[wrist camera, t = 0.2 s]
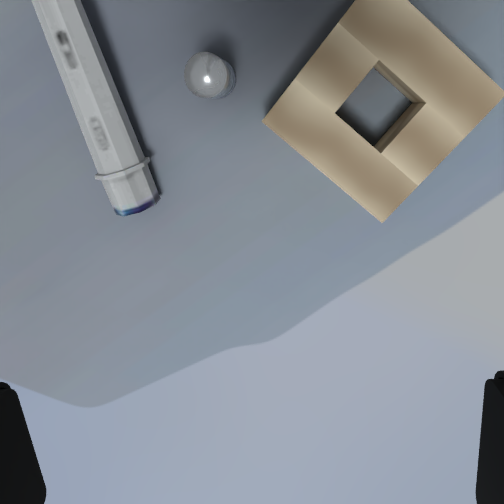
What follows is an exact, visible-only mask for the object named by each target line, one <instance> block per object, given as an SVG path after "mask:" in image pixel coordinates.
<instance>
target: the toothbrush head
mask: <svg viewBox="0 0 504 504" xmlns="http://www.w3.org/2000/svg"><path fill="white" fill-rule="evenodd" d="M32 3H33V5H34V8H35V11H36V13H37V16H38V18H39V21H40V24H41V26H42V29H43V31H44V34H45V37H46V39H47V42H48V44H49V47H50V50H51V52H52V55H53V57H54V60H55V62H56V65H57V68H58V70H59V73H60V75H61V78H62V81H63V83H64V86H65V88H66V91H67V94H68V96H69V99H70V101H71V104H72V107H73V109H74V112H75V114H76V117H77V120H78V122H79V125H80V127H81V130H82V132H83V135H84V138H85V140H86V143H87V145H88V148H89V151H90V153H91V156H92V158H93V161H94V164H95V166H96V169H97V171H98V173H97V174H96V175H95V178H96V180H101V181H102V183H103V185H104V188H105V190H106V192H107V195H108V197H109V199H110V201H111V204H112V206H113V208H114V211H115V213H116V215H120V216H127V215H131V214H135V213H139V212H142V211H144V210H146V209H148V208H150V207H152V206H154V205H156V204H157V202H158V201H159V200H160V196H159V193H158V191H157V188H156V186H155V183H154V180H153V178H152V175H151V173H150V170H149V167H148V165H147V164H148V163H149V162H150V158H149V157H144V155H143V152H142V150H141V147H140V145H139V142H138V140H137V137H136V135H135V133H134V130H133V128H132V125H131V123H130V120H129V118H128V115H127V113H126V110H125V108H124V106H123V103H122V101H121V98H120V96H119V93H118V91H117V88H116V86H115V84H114V81H113V79H112V76H111V74H110V71H109V69H108V66H107V64H106V62H105V59H104V57H103V54H102V52H101V49H100V47H99V44H98V42H97V39H96V37H95V35H94V32H93V30H92V27H91V25H90V22H89V20H88V17H87V15H86V13H85V10H84V8H83V5H82V3H81V0H32Z"/></svg>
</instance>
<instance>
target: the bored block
mask: <svg viewBox="0 0 504 504" xmlns="http://www.w3.org/2000/svg"><path fill="white" fill-rule="evenodd" d="M373 67H374V68H375V69H376V70H377V71H378V72H379V73H380V74H381V75H382V76H383V77H385V78H386V79H387V80H388V81H389V82H390V83H391V84H392V85H393V86H395V87H396V88H397V89H398V90H399V91H400V92H401V93H402V94H403V95H405V96H406V97H407V98H408V99H409V100H410V101H411V102H412V104H411V105H410V106H409V107H408V108H407V109H406V110H405V112H404V113H403V114H402V115H401V116H400V117H399V118H398V119H397V121H396V122H395V123H394V124H393V125H392V126H391V127H390V128H389V130H388V131H387V132H386V133H385V134H384V135H383V136H382V137H381V139H380V140H379V141H378V142H377V143H376V144H375V145H374V146H372V145H371V144H370V143H368V142H367V141H366V140H365V139H364V138H363V137H361V136H360V135H359V134H358V133H357V132H356V131H355V130H353V129H352V128H351V127H350V126H349V125H348V124H347V123H345V122H344V121H343V120H342V119H341V118H340V117H339V116H337V115H336V114H335V112H336V111H337V110H338V109H339V107H340V106H341V105H342V104H343V103H344V101H345V100H346V99H347V98H348V97H349V95H350V94H351V93H352V92H353V91H354V89H355V88H356V87H357V86H358V85H359V83H360V82H361V81H362V80H363V78H364V77H365V76H366V75H367V74H368V72H369V71H370V70H371V69H372V68H373ZM503 97H504V91H503V90H502V89H501V88H500V87H499V86H498V85H497V84H496V83H495V82H494V81H493V80H492V79H491V78H490V77H489V76H488V75H486V74H485V73H484V72H483V71H482V70H481V69H480V68H479V67H478V66H477V65H476V64H475V63H474V62H473V61H472V60H471V59H469V58H468V57H467V56H466V55H465V54H464V53H463V52H462V51H461V50H460V49H459V48H458V47H457V46H456V45H455V44H454V43H453V42H451V41H450V40H449V39H448V38H447V37H446V36H445V35H444V34H443V33H442V32H441V31H440V30H439V29H438V28H437V27H436V26H434V25H433V24H432V23H431V22H430V21H429V20H428V19H427V18H426V17H425V16H424V15H423V14H422V13H421V12H420V11H419V10H418V9H416V8H415V7H414V6H413V5H412V4H411V3H410V2H409V1H408V0H355V1H354V3H353V4H352V5H351V7H350V8H349V9H348V10H347V12H346V13H345V14H344V16H343V17H342V18H341V19H340V21H339V22H338V23H337V25H336V26H335V27H334V28H333V30H332V31H331V32H330V34H329V35H328V36H327V38H326V39H325V40H324V41H323V43H322V44H321V45H320V47H319V48H318V49H317V50H316V52H315V53H314V54H313V56H312V57H311V58H310V60H309V61H308V62H307V63H306V65H305V66H304V67H303V69H302V70H301V71H300V72H299V74H298V75H297V76H296V78H295V79H294V80H293V82H292V83H291V84H290V85H289V87H288V88H287V89H286V91H285V92H284V93H283V94H282V96H281V97H280V98H279V100H278V101H277V102H276V104H275V105H274V106H273V107H272V109H271V110H270V111H269V113H268V114H267V115H266V116H265V118H264V119H263V120H262V122H263V123H264V124H265V125H267V126H268V127H269V128H270V129H271V130H272V131H274V132H275V133H276V134H277V135H278V136H280V137H281V138H282V139H283V140H284V141H285V142H287V143H288V144H289V145H290V146H291V147H293V148H294V149H295V150H296V151H297V152H299V153H300V154H301V155H302V156H303V157H304V158H306V159H307V160H308V161H309V162H310V163H312V164H313V165H314V166H315V167H316V168H317V169H319V170H320V171H321V172H322V173H323V174H325V175H326V176H327V177H328V178H329V179H331V180H332V181H333V182H334V183H335V184H336V185H338V186H339V187H340V188H341V189H342V190H344V191H345V192H346V193H347V194H348V195H349V196H351V197H352V198H353V199H354V200H355V201H357V202H358V203H359V204H360V205H361V206H363V207H364V208H365V209H366V210H367V211H368V212H370V213H371V214H372V215H373V216H374V217H376V218H377V219H378V220H379V221H380V222H381V223H383V222H384V221H385V220H386V219H387V218H388V217H389V216H390V215H391V213H392V212H393V211H394V210H395V209H396V208H397V207H398V206H399V205H400V204H401V203H402V202H403V201H404V200H405V199H406V198H407V197H408V196H409V195H410V194H411V193H412V192H413V191H414V190H415V189H416V188H417V186H418V185H419V184H420V183H421V182H422V181H423V180H424V179H425V178H426V177H427V176H428V175H429V174H430V173H431V172H432V171H433V170H434V169H435V168H436V167H437V166H438V165H439V164H440V163H441V162H442V161H443V160H444V158H445V157H446V156H447V155H448V154H449V153H450V152H451V151H452V150H453V149H454V148H455V147H456V146H457V145H458V144H459V143H460V142H461V141H462V140H463V139H464V138H465V137H466V136H467V135H468V134H469V133H470V131H471V130H472V129H473V128H474V127H475V126H476V125H477V124H478V123H479V122H480V121H481V120H482V119H483V118H484V117H485V116H486V115H487V114H488V113H489V112H490V111H491V110H492V109H493V108H494V107H495V106H496V104H497V103H498V102H499V101H500V100H501V99H502V98H503Z"/></svg>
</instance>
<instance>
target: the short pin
mask: <svg viewBox="0 0 504 504" xmlns="http://www.w3.org/2000/svg"><path fill="white" fill-rule="evenodd" d="M184 78H185V82H186V85H187V87H188V88H189V90H190V91H191V92H192V93H193V94H195V95H196V96H199V97H202V98H223V97H226V96H227V95H229V94H230V93H231V92H232V90H233V89H234V86H235V83H236V75H235V71H234V69H233V67H232V66H231V65H230V64H229V63H228V62H227V61H225V60H223V59H222V58H220V57H218V56H216V55H214V54H212V53H209V52H200V53H197V54H195V55H193V56H192V57H191V58H190V59H189V60H188V62H187V64H186V66H185V70H184Z"/></svg>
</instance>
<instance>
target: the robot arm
mask: <svg viewBox="0 0 504 504" xmlns="http://www.w3.org/2000/svg"><path fill="white" fill-rule="evenodd" d="M483 401H484V402H483V412H482V424H481V435H480V448H479V458H478V471H477V482H476V500H477V504H504V371H498V372H497V373H496V374H495V377H494V379H488V380H487V381H486V383H485V389H484V400H483ZM45 498H46V486H45V483H44V480H43V476H42V473H41V470H40V467H39V463H38V460H37V457H36V454H35V450H34V447H33V444H32V440H31V437H30V434H29V431H28V428H27V424H26V421H25V418H24V414H23V411H22V408H21V405H20V401H19V399H18V395H17V393H16V392H15V391H14V390H13V389H11V388H10V386H9V385H8V384H7V383H4V382H0V504H44V502H45Z"/></svg>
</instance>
